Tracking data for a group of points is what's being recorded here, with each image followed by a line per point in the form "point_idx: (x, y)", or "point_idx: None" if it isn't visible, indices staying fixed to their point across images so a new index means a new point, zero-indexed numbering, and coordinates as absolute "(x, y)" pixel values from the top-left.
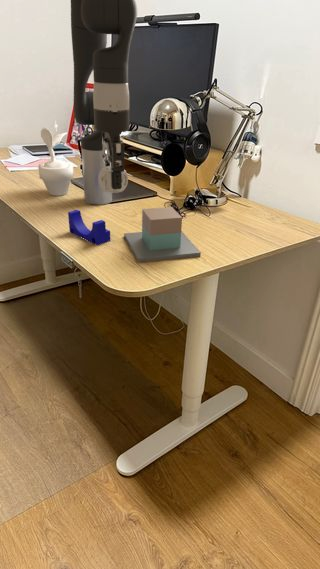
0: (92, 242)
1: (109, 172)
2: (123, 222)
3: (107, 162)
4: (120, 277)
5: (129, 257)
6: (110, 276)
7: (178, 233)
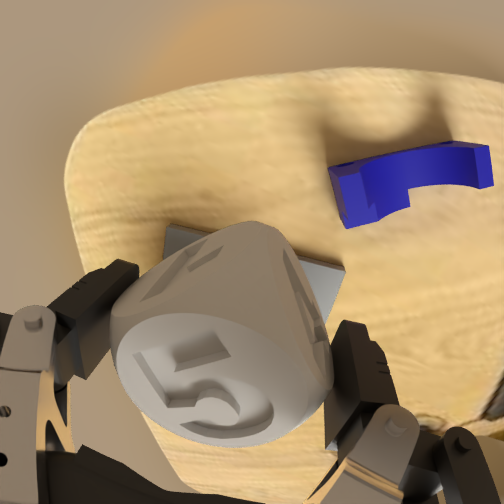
0: (350, 162)
1: (120, 321)
2: (429, 308)
3: (359, 424)
4: (119, 152)
5: (207, 216)
6: (131, 131)
7: None
